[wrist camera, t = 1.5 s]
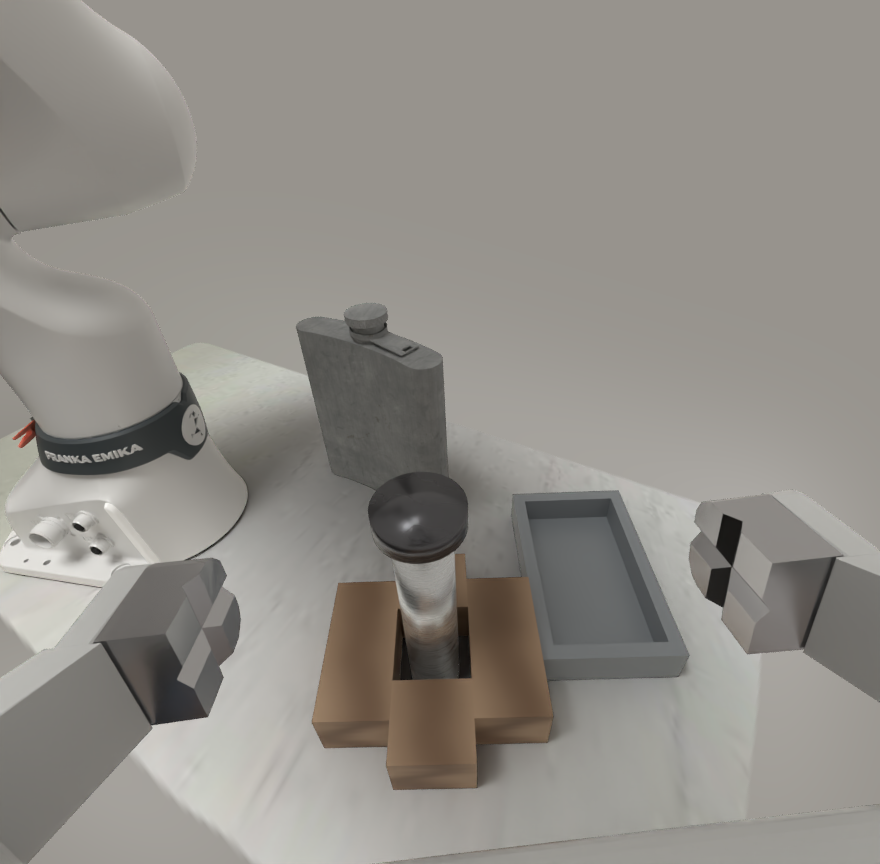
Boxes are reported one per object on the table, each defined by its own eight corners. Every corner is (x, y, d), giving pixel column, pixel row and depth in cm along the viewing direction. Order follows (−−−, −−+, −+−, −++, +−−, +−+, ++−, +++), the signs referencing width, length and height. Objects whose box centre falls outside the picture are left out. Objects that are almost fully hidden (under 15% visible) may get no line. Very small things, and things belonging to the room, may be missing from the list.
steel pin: (398, 707, 34) (362, 546, 23) (402, 637, 38) (373, 473, 27) (472, 705, 33) (470, 542, 23) (468, 635, 38) (465, 470, 27)
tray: (538, 680, 35) (542, 659, 33) (511, 515, 47) (512, 494, 45) (678, 676, 34) (689, 655, 33) (613, 512, 47) (618, 490, 45)
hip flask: (325, 469, 54) (282, 300, 42) (350, 450, 57) (316, 285, 45) (437, 529, 46) (424, 342, 34) (461, 504, 49) (456, 322, 37)
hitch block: (316, 791, 30) (302, 767, 27) (350, 587, 42) (343, 557, 39) (554, 786, 29) (561, 762, 27) (521, 581, 41) (523, 551, 39)
